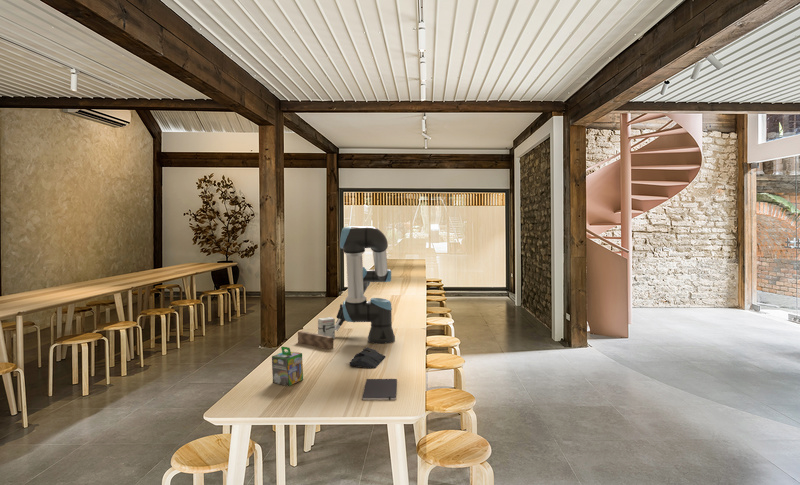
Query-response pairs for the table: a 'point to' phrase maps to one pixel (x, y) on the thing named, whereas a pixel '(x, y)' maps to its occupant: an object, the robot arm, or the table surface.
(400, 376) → the table surface
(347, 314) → the robot arm
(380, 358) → the dark slate chunk
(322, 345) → the walnut board
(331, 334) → the ink box
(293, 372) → the chalk box
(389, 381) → the notebook
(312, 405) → the table surface
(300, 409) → the table surface
